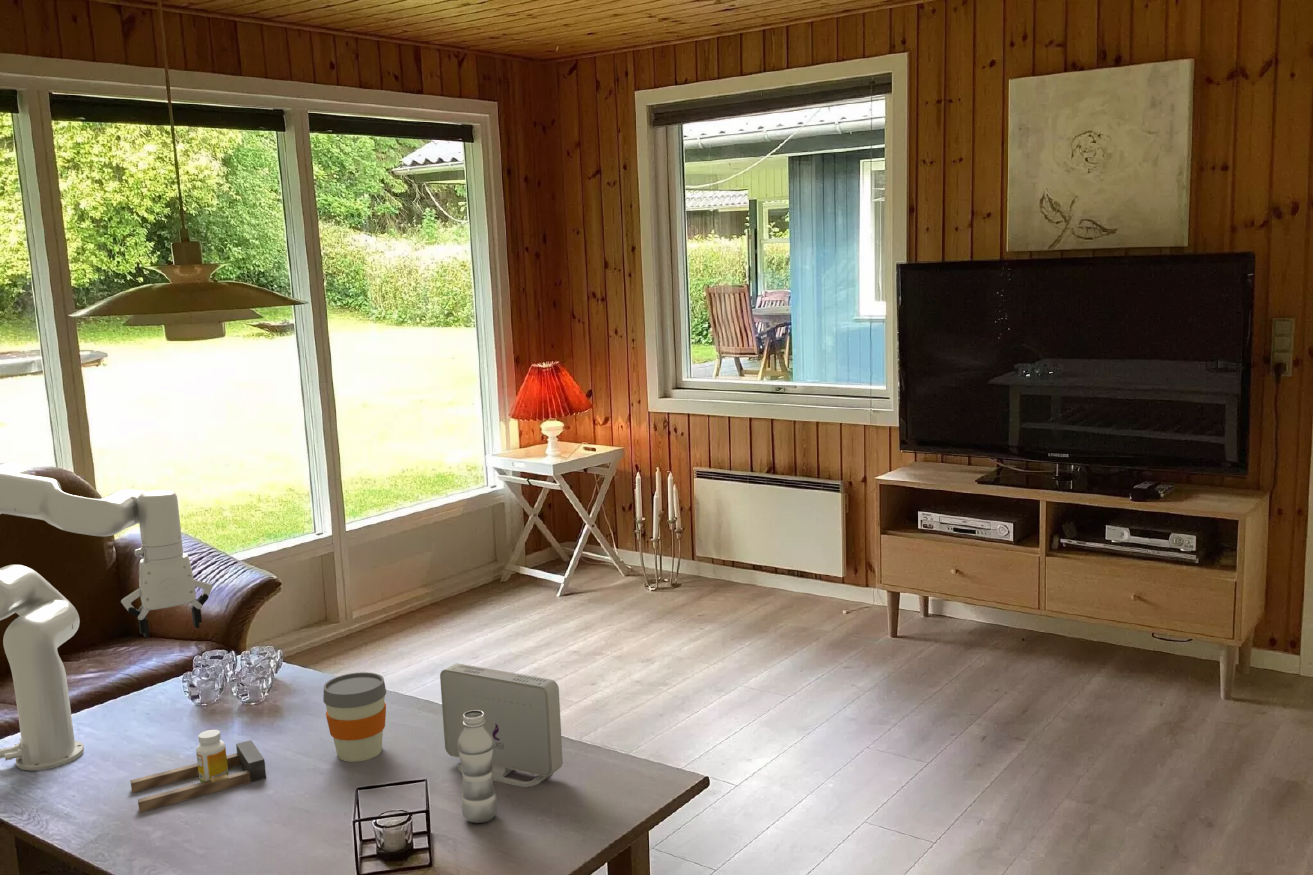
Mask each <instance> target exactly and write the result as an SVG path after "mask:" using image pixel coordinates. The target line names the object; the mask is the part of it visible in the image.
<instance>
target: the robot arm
mask: <svg viewBox="0 0 1313 875" xmlns="http://www.w3.org/2000/svg"><path fill="white" fill-rule="evenodd" d="M179 512H180V510H179V501H178V495H177V493H176V492H174V491H172V490H169V489H157V490H150V491H148V490H147V491H146V490H137V489H120V490H117V491H115V492H113V493H111V494H108V495H106V496H104V497H102V498H91V497H84V496H81V495H80V496H79V495H75V494H74V495H73V494H70V493H67V492H64V491H63V490H62V486H61V484H60V482H59V481H58V480H57V479H55V478H52V477H47V476H39V475H33V474H31V473H30V472H29V470H28V469H26V468H25V467H24V466H22V465H21V464H18V463H15V462H14V463H13V462H1V463H0V515H2V514H3V515H10V516H16V517H23V518H29V519H30V518H31V519H36V520H41V521H45V522H46V523H47V524H48V525H51V526H53V527H55V528H57V529H60V530H61V531H65V532H70V533H74V534H81V535H87V536H95V537H111V536H114V535H117V534H119V533H121V532H122V531H124V530H126V529H128V528H131V527H132V526H135V525H139V532H140V540H141V546H139V547H140V548H137V549H134V555H135V557H142V559H140V561H139V567H138V568H139V571H138V583H139V587H138V588H137V589H135V590H133V592H131V593H129V594H128V595H126V596H124V597H123V598H122V599H121V600H120V603H121V604H122V605H123V607H124V609H126V610H127V612H128V613H129V614H130V615H132V616H133V617H135V618H136V619H137V621H138V628H139V633H140V635H143V636H144V638H145V639H149V638H150V630H149V629H150V628H149V620H148V618H147V615H148V613H149V612H150V611H155V610H160V609H162V610H163V609H167V608H173V607H177V606H183V605H187V604H190V605H192V607H191V617H192V624H193V626H194V628H195V629H199V628H200V624H201V623H202V621H203V619H202V611H201V610H202V608H203V606H204V604H205V603H206V602H207V601H208V600H209V597H210V594H211V593H212V590H213V585H212V584H211V583H208V582H204V581H202V580H201V581H200V580H198V579H195V578H194V574H193V569H192V565H191V561H190V560H191V559H190V557H189V555H188V554H187V553H185V552H184V550H183V539H182V530H181V521H180V513H179ZM196 588H199V589H202V593H201V594H200V595H199V596H198V598H197V593H196ZM138 598H139V599H140V602H141V603H140V604H141V605H140V606H139V608H138V609H137V608H136V607H134V605H132V602H134V601H135V600H137V599H138ZM13 614H17V615H18V616H17V618H14V620H12V622H10V624H9V625H8V627H6V630H5V632H4V634H3V640H2V642H3V643H2V644H3V645H2V646H3V649H4V653H5V655H6V658H7V661H8V663H9V667H10V671H11V675H12V680H13V687H14V695H15V702H16V709H17V716H18V717H17V718H18V725H19V731H20V738H19V743H16V744H14V746H11V747H3V748H0V759H5V760H4V761H10V760H13V759H15V765H16V768H19V769H20V770H24V771H32V772H33V771H43V770H48V769H49V770H51V769H54V768H58V767H61V766H64V765H67V764H69V763H71V762H73V761H75V760H76V759H78V758H80V757H81V756H82V755H83V753H84V751H85V747H84V743H82V742H81V741H79V740H75V734H74V733H75V732H74V726H73V716H72V710H71V701H70V697H69V688H68V682H67V674H66V673H67V672H66V668H65V666H64V662H63V661H62V659H61V657H60V655H59V652H58V648H60V646H62V645H63V644H64V643H66V642H67V641H68V640H70V639H71V638H72V637H74V636H75V634H76V633H77V631H78V630H79V628H80V622H81V620H80V615H79V613H78V610H77V609H76V607H75V606H74V605H73V604H72V603H71V601H70V600H69V599H67V598H66V597H65V596H64V595H63V594H62V593H61V592H59V590H58V589H56V588H55V586H53V585H52V584H51V583H50V582H49V581H48V580H46V578H44V577H43V576H42V575H41V574H40V573H38V572H37V571H36V570H34V569H33V568H31V567H28V566H25V565H23V564H9V565H6V566H3V567H0V621H2V620H4V619H7V618H9V617H10V616H12V615H13Z"/></svg>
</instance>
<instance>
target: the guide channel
mask: <svg viewBox="0 0 1313 875" xmlns="http://www.w3.org/2000/svg"><path fill="white" fill-rule="evenodd" d="M235 745H236V746H235V747H236V753H232V754H229V755H226V756H227V765H228V769H229V768H232V767H237V766H240V768H241V769H242V771H240V772H235V773H232V774H228V776H227V774H225V775H222V776H218V777H214V778H210V780H209V781H205V782H201V783H200V782H198V783H194V784H191V785H186V786H183V787H179V788H175V789H172V790H168V791H165V792H160V793H157V794H153V795H148V796H144V797H142V798H137V805H138V806H137V807H138V810H139V813H142V812H146V811H151V810H154V809H158V808H162V807H164V806H168V805H172V804H176V803H179V802H183V801H187V800H190V799H195V798H198V797H201V796H205V795H209V794H214V793H217V792H220V791H225V790H228V789H231V788H235V787H239V786H243V785H247V784H250V783H254V782H257V781H261V780H265V779H267V773H266V772H267V771H266V763H265V762H266V761H265V758H264V756H263V755H262V754H261V752H260V750H259V749H258V747H257V746H256V745H255V743H254V742H253V741H252V740H251V739H250V740H246V741H243V742H238V743H236V744H235ZM195 777H199V772H198V763H194V764H189V765H185V766H182V767H178V768H174V769H170V770H165V771H161V772H158V773H154V774H150V775H147V776H142V777H139V778H138V777H137V778H133V779H131V780H130V788H131V793H132V794H133V793H137V792H142V791H145V790H149V789H154V788H157V787H160V786H165V785H168V784H173V783H176V782H179V781H185V780H187V779H191V778H195Z"/></svg>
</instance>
